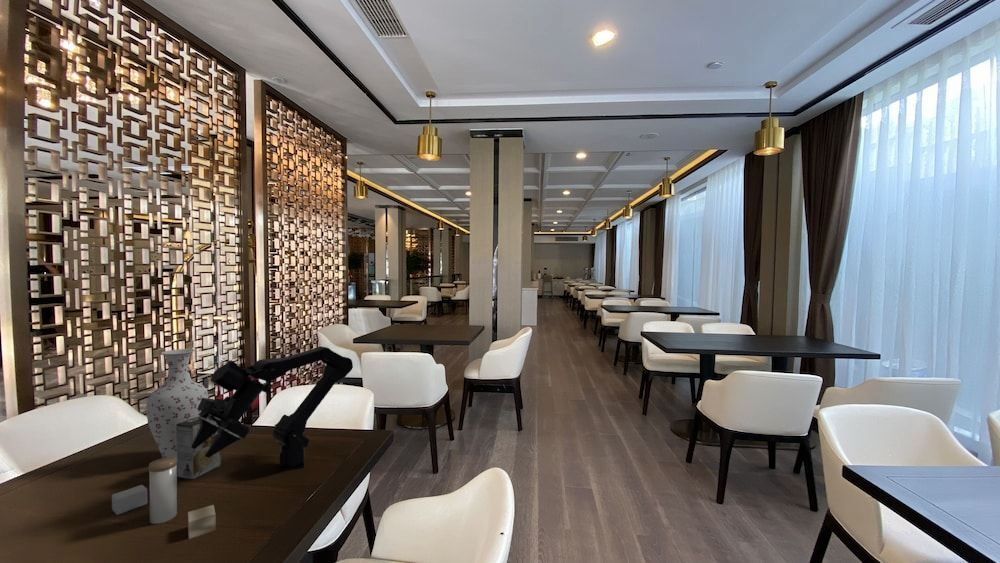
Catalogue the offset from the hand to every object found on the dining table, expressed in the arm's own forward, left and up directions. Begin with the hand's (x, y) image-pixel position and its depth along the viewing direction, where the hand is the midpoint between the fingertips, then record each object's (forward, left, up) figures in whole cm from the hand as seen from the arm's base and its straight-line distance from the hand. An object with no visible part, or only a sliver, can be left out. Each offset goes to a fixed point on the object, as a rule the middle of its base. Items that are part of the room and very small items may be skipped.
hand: (199, 452), depth 108 cm
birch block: (-4, +14, -13) cm, 20 cm away
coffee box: (+4, -20, -13) cm, 24 cm away
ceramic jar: (+6, +5, -13) cm, 15 cm away
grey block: (+16, -4, -13) cm, 21 cm away
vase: (+13, -35, -13) cm, 40 cm away
